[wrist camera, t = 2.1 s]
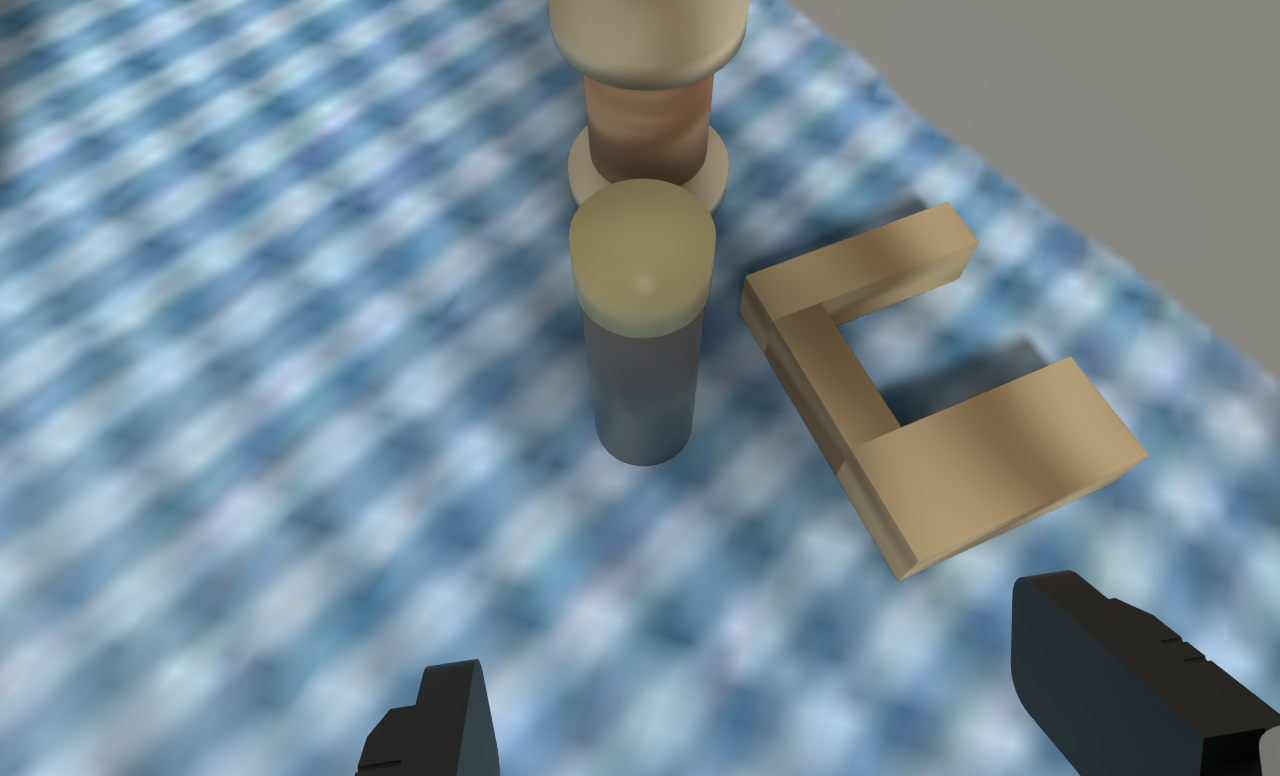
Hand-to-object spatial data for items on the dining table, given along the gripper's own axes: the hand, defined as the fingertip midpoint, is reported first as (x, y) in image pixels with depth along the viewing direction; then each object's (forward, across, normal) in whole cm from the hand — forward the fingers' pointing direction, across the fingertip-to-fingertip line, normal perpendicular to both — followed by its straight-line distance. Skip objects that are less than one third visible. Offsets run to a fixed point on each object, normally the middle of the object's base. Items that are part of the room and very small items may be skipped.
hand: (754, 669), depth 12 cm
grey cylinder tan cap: (+19, 0, +2) cm, 19 cm away
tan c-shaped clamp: (+19, -10, +3) cm, 22 cm away
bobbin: (+27, -2, -6) cm, 28 cm away
